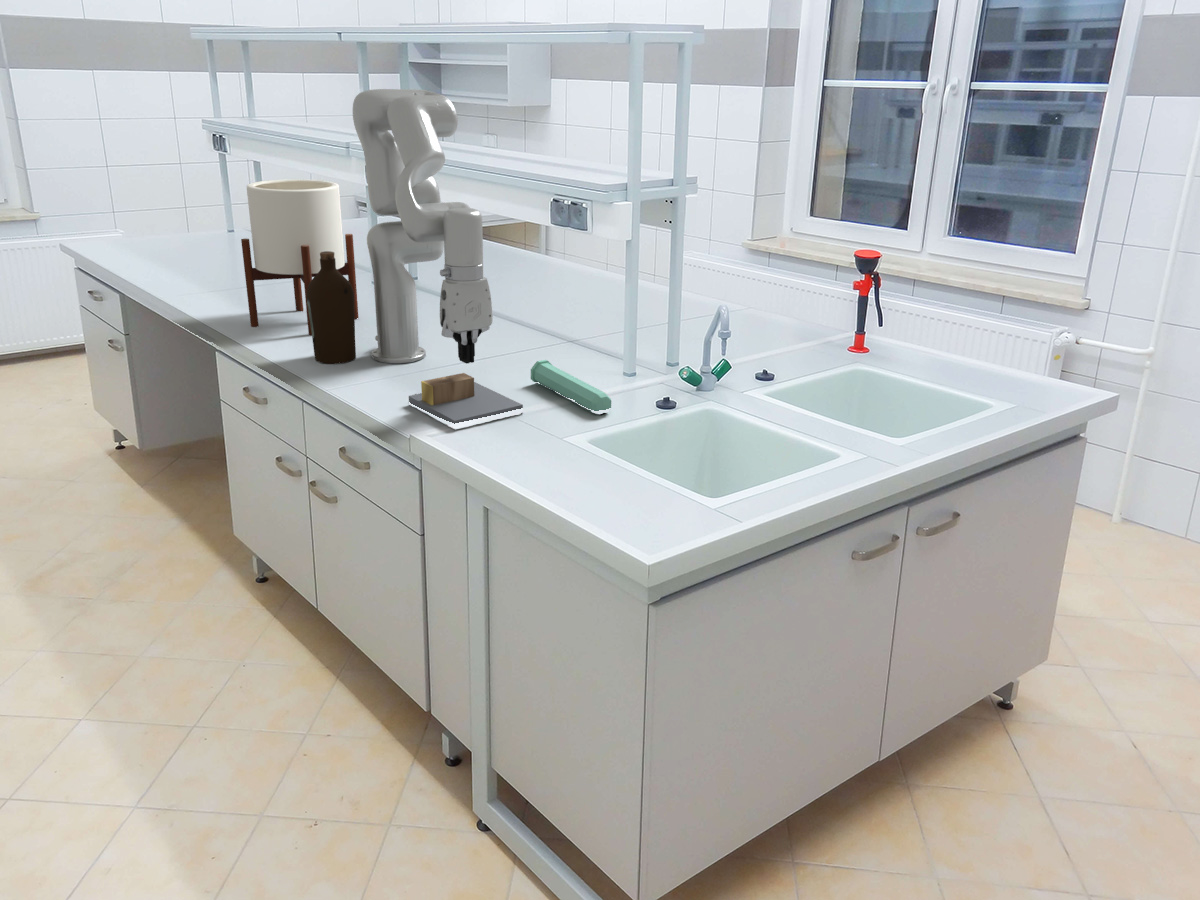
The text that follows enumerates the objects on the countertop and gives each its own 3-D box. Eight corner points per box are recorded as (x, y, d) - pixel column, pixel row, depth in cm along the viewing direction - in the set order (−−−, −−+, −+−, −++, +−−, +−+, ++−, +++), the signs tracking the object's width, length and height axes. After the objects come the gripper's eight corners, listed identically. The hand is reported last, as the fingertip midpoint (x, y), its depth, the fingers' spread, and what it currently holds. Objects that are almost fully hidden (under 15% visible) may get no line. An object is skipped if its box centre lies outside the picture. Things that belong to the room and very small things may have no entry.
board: (409, 405, 202) (408, 395, 201) (474, 390, 211) (474, 382, 210) (454, 430, 189) (454, 420, 188) (522, 414, 198) (522, 404, 198)
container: (612, 387, 197) (547, 354, 216) (589, 402, 195) (526, 367, 214) (620, 410, 200) (555, 376, 219) (598, 425, 198) (534, 389, 217)
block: (464, 391, 205) (421, 400, 199) (463, 372, 203) (421, 381, 197) (474, 396, 202) (431, 405, 196) (474, 377, 200) (430, 386, 194)
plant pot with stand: (365, 317, 266) (356, 182, 253) (314, 337, 247) (301, 192, 233) (298, 308, 274) (285, 177, 260) (243, 327, 254) (226, 186, 241)
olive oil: (363, 352, 235) (356, 248, 226) (352, 365, 226) (344, 257, 216) (319, 351, 235) (310, 247, 226) (306, 364, 226) (296, 256, 216)
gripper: (441, 280, 186) (444, 372, 193) (506, 271, 195) (507, 359, 202) (421, 273, 191) (425, 363, 198) (485, 265, 200) (487, 351, 207)
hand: (466, 361), depth 200 cm, fingers closed
